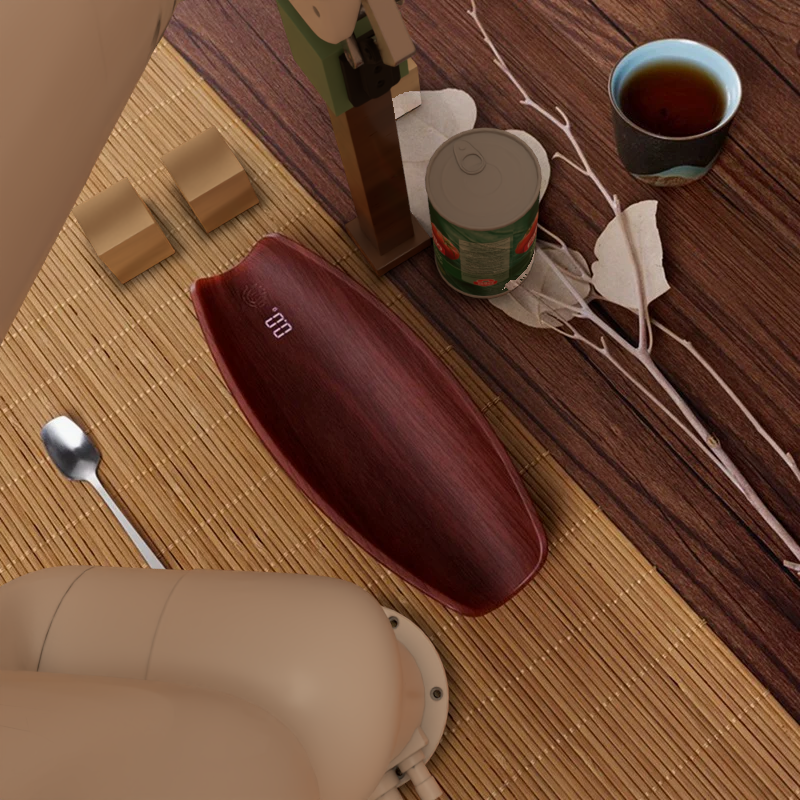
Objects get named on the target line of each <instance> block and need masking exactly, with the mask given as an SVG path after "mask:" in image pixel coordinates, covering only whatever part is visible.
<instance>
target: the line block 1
mask: <svg viewBox="0 0 800 800" xmlns="http://www.w3.org/2000/svg"><path fill="white" fill-rule="evenodd" d="M71 213H72V214H73V216H74V217H75V220H76V221H77V223H78V225H79V226H80V228H81V230H82V231H83V233H84V235H85V237H86V238H87V240H88V242H89V244H90V245H91V247H92V249H93V250H94V253H96V255H97V257H98V258H99V259H100V260H101V262H102V263H103V264H104V265H105V266H106V267H107V268H108V269H109V270H110V273H112V274H113V275H114V276H115V278H116V279H117V280H118V281H119V282H120V283H121V284H122V285H124V284H126V283H127V282H129V281H131V280H133V279H134V278H135V277H137V276H139V275H141V274H143V273H144V272H146V271H147V270H149V269H151V268H152V267H154V266H156V265H158V264H159V263H161V262H162V261H164V260H166V259H168V258H169V257H171V256H172V255H174V254H175V253H176V251H175V249H174V247H173V245H172V244H171V242H170V241H169V239H168V238H167V236H166V234H165V233H164V231H163V230H162V228H161V226H160V225H159V223H158V221H157V220H156V218H155V217H154V215H153V213H152V212H151V210H150V208H149V207H148V206H147V204H146V203H145V201H144V199H143V198H142V197H141V195H140V194H139V193H138V191H137V189H136V188H135V187H134V185H133V184H132V183H131V181H130V179H129V178H128V177H127V176H125V177H123V178H122V179H120V180H118V181H116V182H114V183H113V184H111V185H110V186H107V187H106V188H104V189H103V190H101V191H99V192H98V193H96V194H94V195H92V196H91V197H89V198H88V199H86V200H84V201H82V202H81V203H79V204H78V205H77V204H76V205H75V206H74V207H73V209H72V210H71Z"/></svg>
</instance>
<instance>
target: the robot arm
mask: <svg viewBox="0 0 800 800" xmlns="http://www.w3.org/2000/svg"><path fill="white" fill-rule="evenodd" d="M185 1H186V0H0V347H1V346H2V344H3V343H4V341H5V338H6V336H7V334H8V332H9V331H10V329H11V327H12V325H13V323H14V321H15V319H16V317H17V315H18V313H19V311H20V309H21V308H22V306H23V304H24V302H25V301H26V298H27V296H28V295H29V292H30V291H31V288H32V287H33V285H34V283H35V281H36V279H37V278H38V275H39V273H40V271H41V270H42V268H43V266H44V264H45V262H46V260H47V258H48V256H49V254H50V253H51V251H52V248H53V247H54V245H55V243H56V241H57V239H58V237H59V235H60V234H61V231H62V230H63V228H64V225H65V224H66V222H67V220H68V218H69V216H70V215H71V213H72V211H71V210H72V209H73V208H74V207H75V206H76V203H77V202H78V199H79V197H80V195H81V194H82V192H83V189H84V188H85V186H86V184H87V182H88V180H89V178H90V177H91V174H92V172H93V169H94V167H95V165H96V163H97V161H98V160H99V157H100V156H101V154H102V151H103V149H104V148H105V146H106V144H107V142H108V140H109V138H110V136H111V135H112V132H113V130H114V129H115V127H116V125H117V123H118V121H119V119H120V117H121V115H122V114H123V112H124V109H125V107H126V105H127V104H128V102H129V100H130V98H131V97H132V95H133V93H134V91H135V89H136V87H137V86H138V84H139V81H140V79H141V78H142V76H143V74H144V72H145V70H146V68H147V66H148V64H149V62H150V60H151V57H152V55H153V52H154V51H155V50H156V48H157V47H158V45H159V44H160V42H161V41H162V38H163V36H164V35H165V32H166V30H167V28H168V26H169V24H170V22H171V20H172V18H173V15H174V14H175V11H176V10H177V8H178V5H179V4H180V3H182V2H185ZM289 1H290V3H291V4H292V5H293V6H294V8H295V9H296V10H297V12H298V13H299V14H300V15H301V17H302V18H303V19H304V21H305V22H306V23H307V24H308V25H309V27H310V28H311V29H312V30H313V31H314V33H315V34H316V35H317V36H318V37H320V38H321V39H323V40H324V41H326V42H329V43H332V44H337V43H339V42H341V45H342V48H343V51H344V53H342V55H341V56H339V57H338V58H339V62H340V66H341V70H342V74H343V79H344V83H345V87H346V91H347V95H348V100H349V101H350V102H351V104H352V105H353V106H354V107H359V106H361V105H363V104H364V103H366V102H368V101H370V100H371V99H376V98H378V97H380V96H382V95H384V94H385V93H387V92H388V91H389V90H390V89H391V88H392V87H393V86H395V85H396V84H398V82H399V81H400V79H401V75H400V68H399V64H400V63H402V62H404V61H405V60H407V59H409V58H410V57H411V58H412V57H414V56H416V54H417V50H416V47H415V45H414V42H413V40H412V38H411V35H410V32H409V30H408V28H407V25H406V23H405V21H404V19H403V16H401V15H402V13H401V14H400V12H401V11H400V9H399V7H398V6H401V7H402V6H403V5H404V4H405V2H406V0H289ZM366 16H367V17H368V20H369V22H370V24H371V26H372V28H373V29H371V30H370V31H368V32H366V33H364V34H363V35H361V36H359V37H358V38H356V36H355V33H354V28H355V25H356V22H357V21H359V20H361V19H362V18H364V17H366ZM392 621H393V622H394V621H396V626H394V627H393V625H392V624H391V623H392ZM436 691H439V692H440V695H439V697H436V696H435V695H434V692H436ZM449 691H450V689H449V683H448V678H447V673H446V669H445V667H444V664H443V661H442V659H441V656H440V654H439V653H438V650H437V649H436V647H435V645H434V644H433V643H432V641H431V639H430V638H429V637H428V636H427V635H426V633H425V632H424V631H423V630H422V629H421V628H420V627H419V626H418V625H417V624H416V623H415V622H413V621H412V620H411V619H410V618H408V617H406V616H404V615H403V614H401V613H400V612H398V611H396V610H394V609H393V608H392V609H391V608H389V607H386V606H383V605H381V604H380V602H379V601H378V600H377V599H376V598H375V597H374V595H372V594H371V593H369V592H368V591H367V590H366V589H364V588H363V587H361V586H360V585H358V584H356V583H354V582H352V581H348V580H345V579H342V578H337V577H333V576H327V575H326V576H325V575H318V574H310V573H309V574H307V573H298V572H297V573H294V572H276V571H258V570H234V569H216V568H215V569H214V568H193V569H190V570H189V569H175V568H174V569H172V568H171V569H169V568H150V567H130V566H128V567H127V566H108V565H106V566H105V565H91V564H90V565H89V564H88V565H87V564H83V565H81V564H79V565H78V564H76V565H75V564H73V565H55V566H49V567H44V568H41V569H37V570H34V571H30V572H27V573H25V574H22V575H20V576H18V577H15V578H14V579H11V580H10V581H7V582H5V583H4V584H2V585H0V800H404V798H403V796H402V795H401V792H400V791H399V789H398V788H400V787H402V786H404V784H406V783H407V782H409V781H411V783H412V784H413V786H414V790H415V792H416V793H417V795H418V797H419V799H420V800H437V799H439V798H440V797H441V796H442V795H444V792H443V791H442V789H441V787H440V786H439V784H438V782H437V780H436V779H435V777H434V775H432V774H431V772H430V771H429V769H428V767H427V764H428V762H429V761H430V760H431V758H432V756H433V755H434V754H435V752H436V750H437V748H438V747H439V745H440V742H441V740H442V737H443V734H444V733H445V730H446V726H447V721H448V715H449V709H450V695H449V694H450V692H449ZM397 769H399V771H400V773H401V775H399V774H398V773H397Z"/></svg>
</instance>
